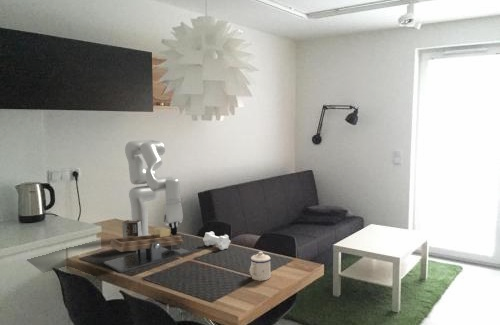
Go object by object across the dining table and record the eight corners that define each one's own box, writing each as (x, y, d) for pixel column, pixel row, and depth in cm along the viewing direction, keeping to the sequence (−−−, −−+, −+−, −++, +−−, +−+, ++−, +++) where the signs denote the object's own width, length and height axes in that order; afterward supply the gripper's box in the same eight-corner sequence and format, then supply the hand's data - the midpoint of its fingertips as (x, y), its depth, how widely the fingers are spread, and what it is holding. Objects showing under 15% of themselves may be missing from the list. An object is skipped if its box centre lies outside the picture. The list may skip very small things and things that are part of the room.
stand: (103, 263, 204) (102, 244, 203) (171, 246, 232) (170, 228, 231) (121, 272, 190) (120, 252, 189) (190, 253, 218) (190, 235, 217)
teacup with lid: (259, 272, 189) (258, 247, 188) (275, 276, 183) (274, 251, 182) (242, 280, 179) (242, 254, 178) (258, 284, 174) (258, 258, 173)
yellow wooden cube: (153, 239, 216) (154, 228, 216) (163, 238, 220) (163, 227, 220) (159, 241, 211) (160, 230, 211) (169, 240, 216) (170, 229, 216)
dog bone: (231, 249, 226) (231, 234, 226) (219, 251, 220) (220, 236, 220) (212, 244, 236) (213, 230, 236) (201, 246, 230) (202, 231, 230)
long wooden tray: (170, 244, 227) (171, 232, 227) (183, 249, 218) (183, 236, 218) (109, 252, 202) (110, 238, 202) (120, 258, 193) (121, 243, 193)
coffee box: (143, 247, 229) (142, 219, 228) (139, 251, 223) (137, 222, 221) (127, 247, 230) (126, 219, 229) (123, 251, 224) (121, 222, 222)
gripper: (180, 198, 227) (181, 230, 229) (157, 202, 217) (158, 236, 219) (188, 200, 222) (189, 233, 224) (164, 204, 211) (166, 238, 213)
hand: (174, 234), depth 221 cm, fingers closed
